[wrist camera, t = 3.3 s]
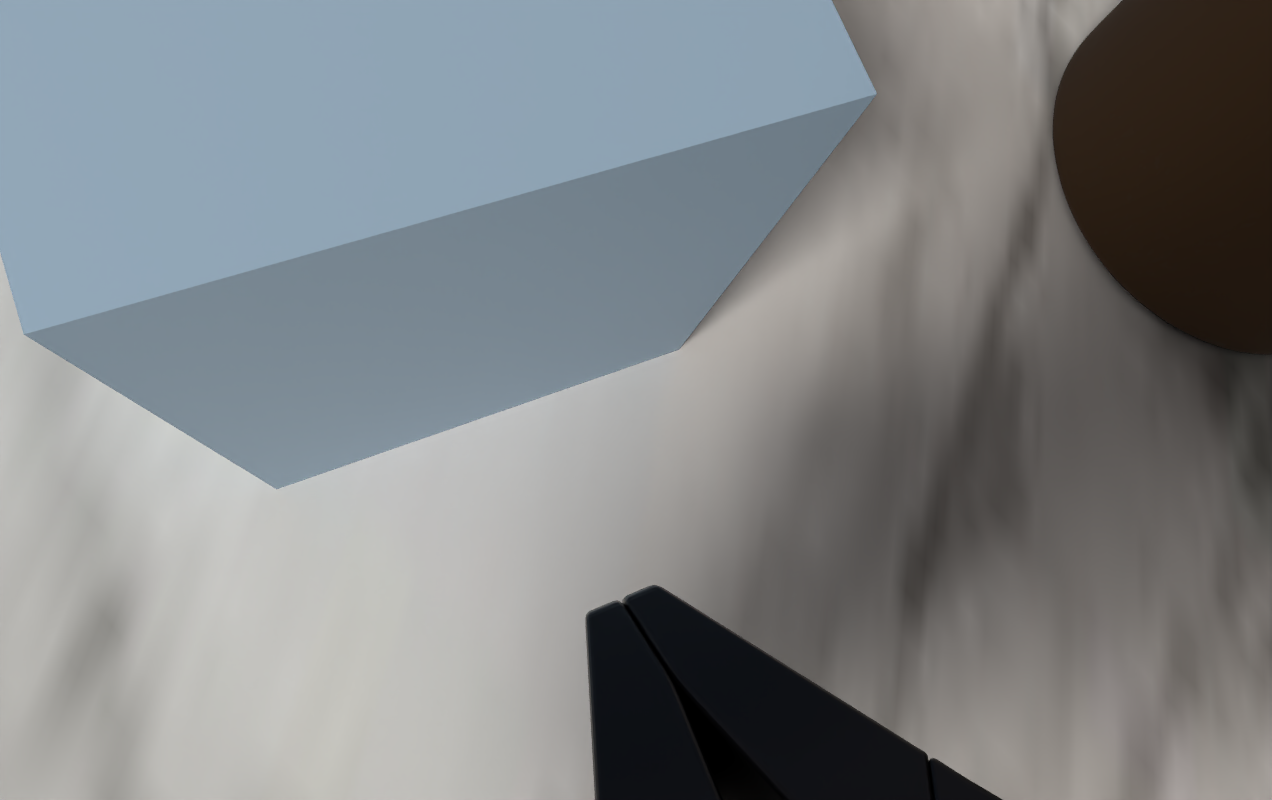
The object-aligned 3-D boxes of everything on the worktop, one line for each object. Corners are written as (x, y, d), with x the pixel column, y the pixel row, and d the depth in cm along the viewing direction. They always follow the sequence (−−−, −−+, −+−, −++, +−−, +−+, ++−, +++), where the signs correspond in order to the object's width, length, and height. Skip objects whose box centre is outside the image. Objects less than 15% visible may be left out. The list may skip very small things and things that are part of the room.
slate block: (677, 350, 17) (876, 94, 9) (277, 489, 15) (23, 333, 7) (522, -22, 19) (561, -558, 10) (137, 61, 17) (-222, -519, 8)
